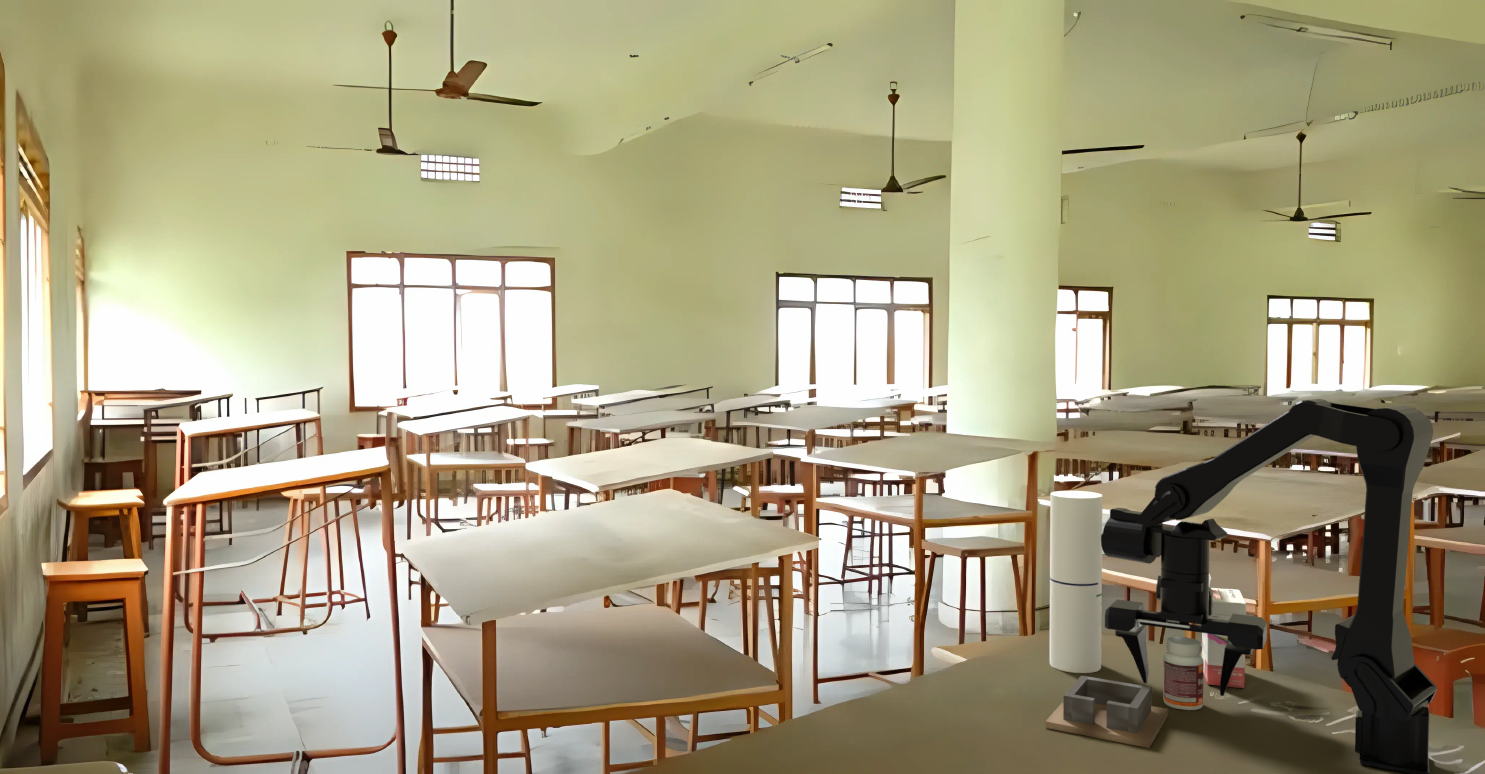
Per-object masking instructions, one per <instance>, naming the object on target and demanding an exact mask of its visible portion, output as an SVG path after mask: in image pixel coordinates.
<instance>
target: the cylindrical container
mask: <svg viewBox="0 0 1485 774" xmlns="http://www.w3.org/2000/svg"><path fill="white" fill-rule="evenodd" d="M1049 498H1050V499H1049V501H1050V503H1049V505H1050V508H1049V510H1050V511H1049V517H1050V518H1049V519H1050V520H1049V521H1050V522H1049V523H1050V525H1049V526H1050V527H1049V529H1050V530H1049V665H1050V666H1051V667H1052V668H1053V669H1055V670H1059V671H1062V672H1067V673H1074V674H1092V673H1095V672H1098V671H1100V670H1101V669H1102V608H1103V607H1102V606H1103V605H1102V600H1103V597H1102V594H1103V593H1102V589H1103V587H1102V586H1103V578H1102V577H1103V567H1102V566H1103V550H1102V546H1101V534H1103V494H1102V493H1098V492H1095V491H1087V490H1085V491H1083V490H1058V491H1057V490H1055V491H1052V492H1050V497H1049Z"/></svg>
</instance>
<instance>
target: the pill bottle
mask: <svg viewBox="0 0 1485 774" xmlns="http://www.w3.org/2000/svg"><path fill="white" fill-rule="evenodd" d="M1201 654H1202V642H1200V641H1199V640H1198V639H1195V638H1192V637H1185V636H1170V637H1168V638H1167V640H1166V653H1165V654H1164V655H1163V663H1162V664H1163V681H1162V682H1163V693H1162V694H1163V695H1162V696H1163V697H1162V698H1163V702H1164V704H1165V705H1166V706H1168V707H1170V708H1174V709H1177V710H1184V711H1197V710H1201V709H1202V708H1203V706H1204V676H1205V675H1204V672H1203V669H1204V661H1203V658H1202V655H1201Z"/></svg>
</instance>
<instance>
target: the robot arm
mask: <svg viewBox="0 0 1485 774" xmlns="http://www.w3.org/2000/svg"><path fill="white" fill-rule="evenodd" d="M1315 436H1317V437H1319V438H1324V439H1327V440H1330V441H1333V442H1337V443H1340V444H1343V445H1344V444H1345V445H1350V446H1353V447H1355V448H1356V455H1357V462H1358V466H1359V468H1360V471H1361V474H1362V477H1363V480H1364V483H1365V490H1366V491H1365V500H1364V501H1365V502H1364V503H1365V505H1364V516H1363V526H1362V527H1363V529H1362V541H1361V542H1362V543H1361V554H1360V555H1361V556H1360V568H1359V581H1358V582H1359V583H1358V594H1357V595H1358V596H1357V606H1356V607H1357V608H1356V610H1355V614H1353V615H1351V616H1350V617H1347V618H1346V619H1344V620H1341V621H1340V622H1338V623H1336V624H1335V626H1334V637H1335V649H1334V652H1333V654H1332V655H1331V660H1332V661H1335V660H1337V664H1336V665H1337V672H1338V674H1339V678H1341V679H1342V680H1343V681H1344V682H1345V683H1346V685H1347V686H1348V687H1349V688H1351V692H1352V694H1353V698H1354V700H1355V702H1356V705H1357V707H1358V709H1357V710H1356V711H1355V726H1354V727H1355V729H1354V730H1355V737H1354V738H1355V739H1354V741H1355V742H1354V752H1355V753H1356V754H1359V764H1361V765H1364V766H1369V767H1375V768H1380V769H1385V770H1389V771H1390V770H1391V771H1395V772H1402V773H1407V774H1431V770H1430V759H1429V750H1430V749H1429V747H1430V746H1429V744H1430V743H1429V742H1430V739H1429V738H1430V731H1429V730H1430V711H1429V707H1427V706H1426V705H1429V704H1430V703H1432V701H1433V699H1434V697H1435V695H1436V693H1437V691H1438V686H1437V685H1436V684H1435V682H1433V681H1432V680H1431V679H1430V678H1429V676H1427V674H1426V673H1425V672H1424V671H1423V670H1422V669H1421V668H1420V667H1419V666H1418V665H1417V664H1416V663H1415V657H1414V650H1413V641H1412V635H1411V632H1410V630H1409V629H1410V628H1409V625H1408V624H1407V621H1406V617H1405V614H1404V604H1405V591H1406V589H1405V588H1406V578H1407V566H1408V565H1407V564H1408V553H1409V540H1410V539H1409V538H1410V528H1411V517H1412V516H1411V515H1412V503H1413V492H1414V488H1415V485H1416V483H1417V480H1418V478H1419V476H1420V475H1421V472H1422V470H1423V468H1424V465H1425V463H1426V460H1427V458H1428V454H1429V450H1430V448H1431V443H1432V440H1433V436H1434V428H1433V423H1432V421H1431V419H1430V418H1429V417H1428V416H1427V415H1426V414H1425V413H1423V412H1422V411H1421V410H1420V409H1417V408H1416V407H1414V406H1409V405H1405V404H1404V405H1393V406H1386V407H1381V408H1380V407H1379V408H1373V407H1367V406H1358V405H1353V404H1352V405H1351V404H1344V403H1336V402H1331V401H1328V400H1326V399H1322V398H1313V399H1311V398H1310V399H1305V400H1300V401H1297V402H1295V403H1294V404H1293V405H1292V406H1291V408H1290V409H1288V410H1287V411H1285V412H1284V413H1282V414H1281V415H1279V416H1277V417H1276V418H1275V419H1273V420H1272V421H1270V422H1268V423H1266V424H1265V425H1264V426H1262V427H1260V428H1259V429H1257V430H1255V431H1254V432H1252V433H1251V434H1249V435H1248V436H1246V437H1245V438H1243V439H1241V440H1239V441H1238V442H1237V443H1234V444H1233V445H1232V446H1230V447H1229V448H1226V449H1225V450H1224V451H1223V452H1221V453H1219V454H1218V455H1216V456H1214V457H1213V458H1211V459H1208V460H1205V461H1203V462H1200V463H1198V464H1194V465H1192V466H1189V467H1186V468H1183V469H1181V470H1179V471H1175V472H1174V473H1171V474H1169V475H1166V476H1164V477H1162V478H1160V480H1158V481H1157V482H1156V484H1155V486H1154V497H1153V498H1152V500H1151V501H1150V502H1149V503H1148V504H1147V506H1146V507H1145V508H1144V510H1143V511H1139V510H1138V511H1137V510H1131V509H1128V508H1125V507H1115V508H1111V509H1110V510H1109V518H1108V519H1107V520H1106V522H1105V525H1104V527H1103V529H1102V534H1101V546H1102V553H1103V554H1104V555H1105V556H1106V557H1108V558H1114V559H1118V560H1125V561H1130V562H1131V561H1132V562H1137V563H1142V564H1143V563H1144V564H1152V563H1153V562H1155V561H1156V559H1157V558H1160V575H1158V576H1157V580H1156V581H1157V582H1156V588H1155V598H1156V599H1157V600H1159V601H1160V611H1153V610H1145V604H1144V602H1142V601H1134V600H1133V601H1132V600H1125V599H1116V600H1115V601H1113V602H1112V603H1111V604H1110V605H1109V606H1108V607H1107V608H1106V610H1105V613H1104V628H1105V629H1108V630H1113V631H1114V634H1115V636H1116V637H1119V638H1122V640H1123V641H1124V643H1125V645H1126V647H1127V648H1128V651H1129V652H1130V654H1131V656H1132V658H1133V659H1134V660H1133V661H1134V662H1135V665H1136V669H1137V670H1138V672H1139V674H1140V678H1141V680H1142V682H1143V684H1148V682H1149V671H1150V670H1149V659H1148V649H1147V648H1148V647H1147V626H1149V627H1157V628H1163V629H1165V628H1166V629H1171V630H1180V631H1188V632H1194V633H1201V634H1202V633H1208V634H1215V635H1223V636H1227V639H1228V640H1229V641H1228V643H1227V645H1226V647H1225V650H1224V658H1223V665H1222V673H1221V680H1220V686H1219V696H1220V697H1224V696H1225V694H1226V691H1227V688H1228V683H1229V680H1230V678H1231V675H1232V672H1233V669H1234V667H1235V666H1236V664H1237V662H1238V660H1239V658H1240V657H1241V655H1242V654H1245V656H1246V655H1252V653H1253V650H1263V649H1264V648H1265V647H1264V646H1265V644H1266V642H1267V639H1268V623H1267V621H1266V620H1265V619H1264V618H1263V617H1261V616H1253V615H1247V614H1246V615H1239V614H1233V615H1232V616H1231V618H1230V620H1229V621H1225V620H1217V619H1209V616H1211V615H1212V601H1213V590H1212V589H1211V588H1212V587H1211V588H1210V587H1209V574H1210V541H1213V542H1214V541H1217V540H1221V539H1224V538H1227V537H1228V532H1227V531H1226V530H1224V528H1223V527H1221V526H1220V525H1219V524H1218V522H1216V519H1215V518H1209V519H1208V518H1207V519H1205V520H1203V522H1202V523H1198V522H1193V521H1184V520H1185V519H1190V518H1193V517H1198V516H1201V515H1204V514H1207V513H1209V512H1210V511H1212V510H1213V509H1214V508H1216V507H1217V506H1218V505H1219V504H1220V503H1221V502H1222V501H1223V500H1224V499H1226V497H1227V496H1228V495H1229V494H1230V493H1231V492H1232V491H1233V489H1234V488H1235V487H1236V486H1237V485H1238V484H1239V483H1240V482H1241V481H1243V480H1244V479H1246V478H1248V477H1249V476H1251V475H1253V474H1254V473H1256V472H1257V471H1260V470H1261V469H1262V468H1265V467H1266V466H1268V465H1269V464H1272V463H1273V462H1274V461H1276V460H1277V459H1279V458H1281V457H1282V456H1285V454H1288V453H1290V452H1291V451H1292V450H1294V449H1295V448H1297V447H1299V446H1301V445H1303V443H1305V442H1307V441H1309V440H1310V439H1312V438H1314V437H1315ZM1174 520H1176V521H1179V522H1177V524H1176V525H1175V526H1174V525H1173V526H1172V525H1166V524H1165V525H1164V524H1163V523H1167V522H1169V521H1170V522H1171V521H1174Z"/></svg>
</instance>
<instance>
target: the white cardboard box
mask: <svg viewBox="0 0 1485 774" xmlns="http://www.w3.org/2000/svg"><path fill="white" fill-rule="evenodd" d="M1209 587H1210V588H1211V589H1212V590H1213V601H1212V615H1211V616H1209V619H1217V620H1225V621H1229V620H1230V618H1231V616H1232V615H1233V614H1239V615H1247V602H1246V600H1245V598H1244V596H1243V594H1242V593H1241V590H1240V589H1236V588H1234V589H1233V588H1218V587H1217V588H1216V587H1212V576H1211V574H1210V573H1209ZM1201 636H1202V637H1201V657H1202V658H1203V661H1204V669H1203V674H1204V675H1203V676H1204V678H1205V681H1206V683H1207V685H1208V686H1209V685H1211V686H1219V687H1220V680H1221V673H1222V665H1223V658H1224V650H1225V647H1226V645H1227V643H1228V641H1229V640H1228V639H1227V636H1223V635H1215V634H1208V633H1201ZM1245 661H1246V655H1245V654H1242V655H1241V657H1240V658H1239V660H1238V662H1237V664H1236V666H1235V667H1234V669H1233V672H1232V675H1231V678H1230V680H1229V683H1228V686H1227V688H1228V687H1230V688H1239V689H1244V688H1245V671H1246V670H1245V669H1246V665H1245V664H1246V663H1245Z"/></svg>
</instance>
